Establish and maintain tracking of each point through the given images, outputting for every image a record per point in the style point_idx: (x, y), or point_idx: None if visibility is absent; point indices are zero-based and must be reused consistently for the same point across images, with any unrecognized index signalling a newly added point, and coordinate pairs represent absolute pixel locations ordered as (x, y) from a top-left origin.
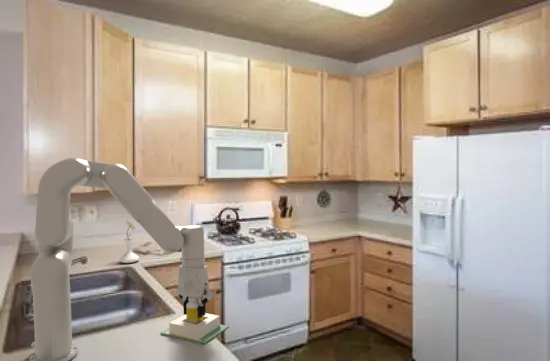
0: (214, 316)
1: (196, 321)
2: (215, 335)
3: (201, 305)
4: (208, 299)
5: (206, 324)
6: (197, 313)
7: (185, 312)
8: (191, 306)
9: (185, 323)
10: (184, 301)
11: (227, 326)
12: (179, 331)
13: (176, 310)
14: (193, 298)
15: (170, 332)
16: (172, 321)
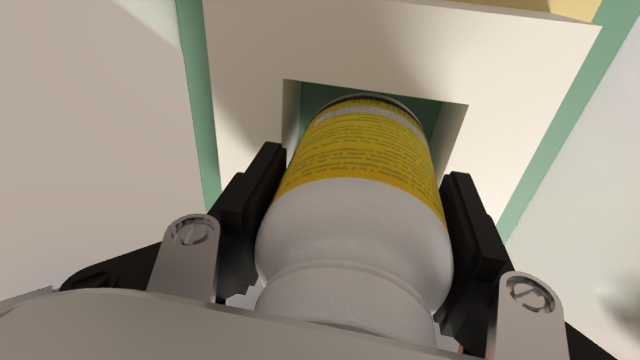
0: None
1: (311, 124)
2: (190, 90)
3: (195, 223)
4: (31, 292)
5: (216, 110)
6: (289, 168)
7: (450, 183)
8: (330, 195)
9: (397, 67)
10: (498, 287)
11: (208, 205)
12: (437, 2)
13: (611, 334)
14: (291, 311)
15: (540, 12)
16: (569, 74)
